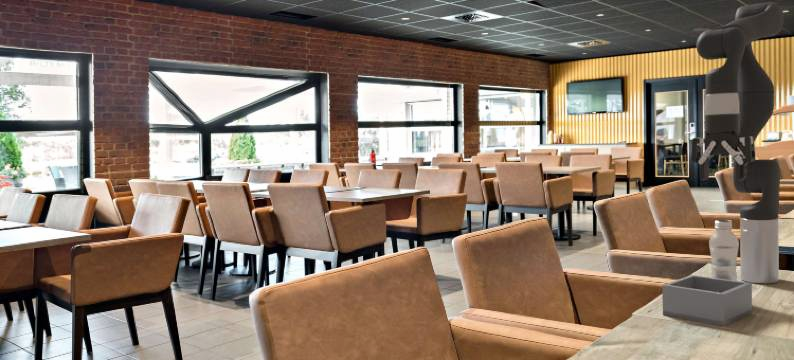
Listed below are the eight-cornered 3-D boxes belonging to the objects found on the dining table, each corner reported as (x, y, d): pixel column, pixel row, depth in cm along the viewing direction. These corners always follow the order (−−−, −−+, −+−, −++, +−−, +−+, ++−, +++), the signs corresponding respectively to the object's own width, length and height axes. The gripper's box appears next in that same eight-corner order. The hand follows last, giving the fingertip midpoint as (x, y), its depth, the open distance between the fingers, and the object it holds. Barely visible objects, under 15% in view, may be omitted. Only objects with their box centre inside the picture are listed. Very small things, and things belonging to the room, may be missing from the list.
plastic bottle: (710, 297, 169) (709, 218, 168) (740, 299, 166) (739, 219, 164) (707, 303, 164) (706, 222, 162) (738, 306, 160) (737, 223, 159)
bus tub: (692, 303, 165) (691, 274, 164) (752, 313, 154) (751, 283, 153) (662, 314, 156) (662, 285, 155) (724, 326, 145) (723, 294, 144)
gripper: (759, 111, 158) (760, 179, 159) (700, 114, 169) (701, 178, 170) (745, 111, 154) (746, 182, 155) (685, 114, 165) (686, 180, 166)
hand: (722, 180), depth 163 cm, fingers open, 8 cm apart
